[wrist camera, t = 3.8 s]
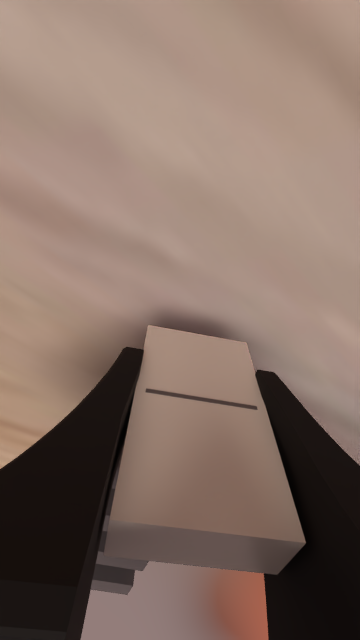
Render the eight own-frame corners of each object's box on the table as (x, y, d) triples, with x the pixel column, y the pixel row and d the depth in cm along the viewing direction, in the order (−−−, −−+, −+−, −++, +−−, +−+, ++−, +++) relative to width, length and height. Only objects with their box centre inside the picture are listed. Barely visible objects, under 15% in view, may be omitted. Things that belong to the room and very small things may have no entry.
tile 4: (145, 478, 25) (133, 585, 19) (140, 489, 26) (127, 594, 20) (98, 468, 24) (69, 576, 18) (94, 479, 25) (66, 586, 19)
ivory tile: (246, 342, 12) (306, 543, 6) (234, 372, 13) (276, 575, 7) (148, 324, 12) (109, 518, 6) (142, 357, 13) (103, 556, 7)
